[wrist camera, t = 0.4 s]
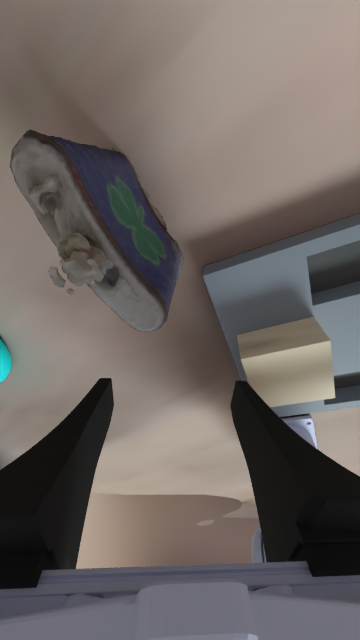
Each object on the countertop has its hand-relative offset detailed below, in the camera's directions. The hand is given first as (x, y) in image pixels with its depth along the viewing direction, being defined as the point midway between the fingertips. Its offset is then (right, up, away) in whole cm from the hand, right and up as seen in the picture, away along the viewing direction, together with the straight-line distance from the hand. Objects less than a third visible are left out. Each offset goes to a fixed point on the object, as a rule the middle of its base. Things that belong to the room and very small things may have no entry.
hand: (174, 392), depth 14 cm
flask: (-2, +12, +4) cm, 13 cm away
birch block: (+9, +1, +7) cm, 11 cm away
